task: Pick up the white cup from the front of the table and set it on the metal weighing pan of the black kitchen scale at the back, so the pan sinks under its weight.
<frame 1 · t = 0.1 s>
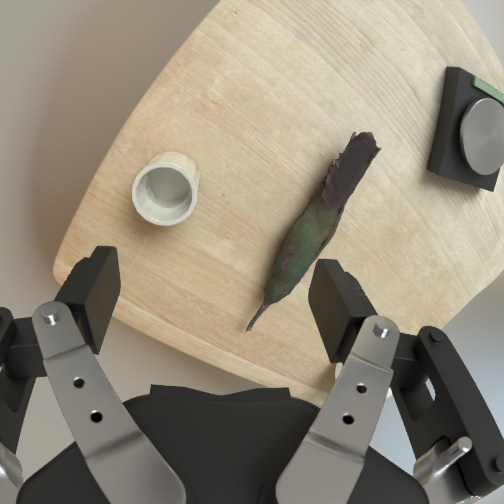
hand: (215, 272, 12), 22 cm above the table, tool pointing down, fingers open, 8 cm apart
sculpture: (299, 236, 37), on the table
white cup: (171, 178, 32), on the table
scale: (469, 130, 31), on the table
pan: (487, 136, 28), point 4 cm above the table, slide at 0.0 cm
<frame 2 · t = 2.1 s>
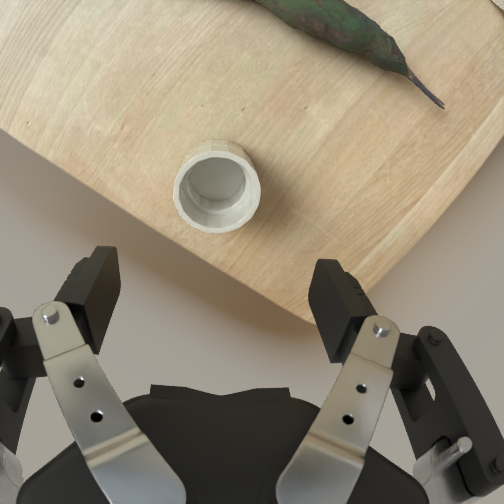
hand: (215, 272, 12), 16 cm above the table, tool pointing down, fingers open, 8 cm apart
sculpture: (310, 15, 20), on the table
white cup: (216, 173, 26), on the table
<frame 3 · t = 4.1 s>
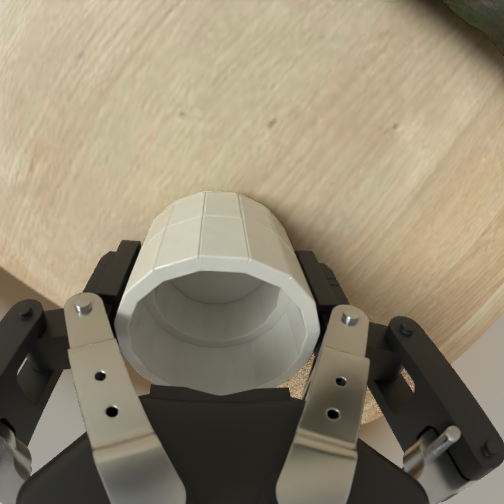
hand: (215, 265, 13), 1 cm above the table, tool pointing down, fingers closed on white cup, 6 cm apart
white cup: (216, 255, 13), on the table, touching gripper
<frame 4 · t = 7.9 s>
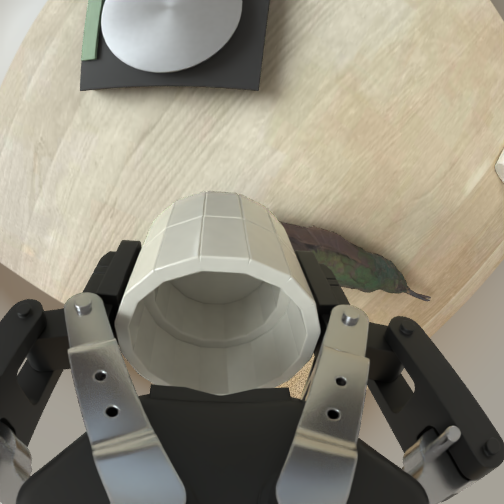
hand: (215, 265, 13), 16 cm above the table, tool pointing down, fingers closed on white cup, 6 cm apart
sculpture: (342, 253, 32), on the table
white cup: (216, 255, 13), point 15 cm above the table, touching gripper
scale: (176, 19, 19), on the table
pan: (169, 9, 16), point 4 cm above the table, slide at 0.0 cm
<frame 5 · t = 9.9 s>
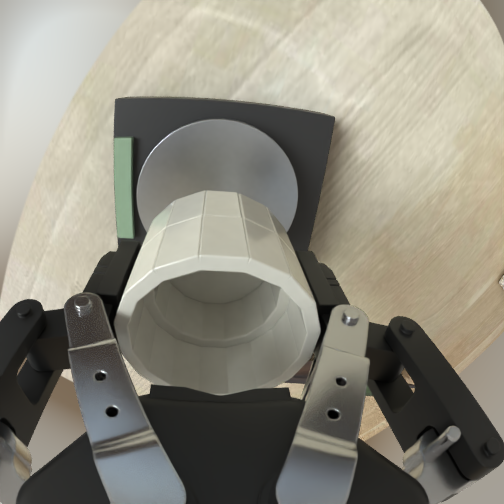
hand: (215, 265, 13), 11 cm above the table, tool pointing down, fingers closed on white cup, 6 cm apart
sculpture: (354, 364, 35), on the table
white cup: (216, 254, 13), point 10 cm above the table, touching gripper
scale: (217, 181, 22), on the table
pan: (216, 199, 19), point 4 cm above the table, slide at 0.0 cm
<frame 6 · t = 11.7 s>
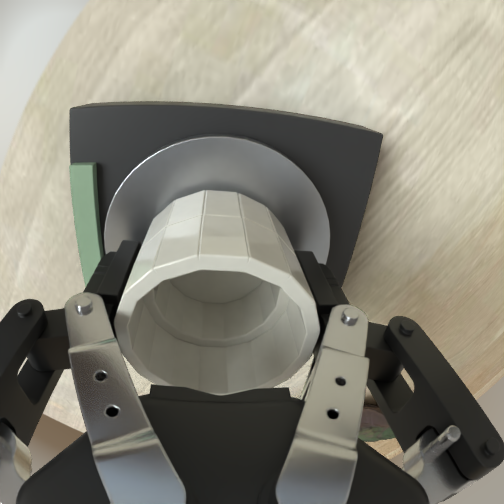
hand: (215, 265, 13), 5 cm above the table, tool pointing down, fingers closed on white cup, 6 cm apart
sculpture: (371, 406, 30), on the table
white cup: (216, 254, 13), point 4 cm above the table, touching gripper, pan
scale: (216, 217, 17), on the table
pan: (216, 249, 14), point 3 cm above the table, slide at -0.2 cm, touching white cup
when the fingers open (5 cm above the table, at t = 11.9 s): white cup stays where it is, resting on pan.
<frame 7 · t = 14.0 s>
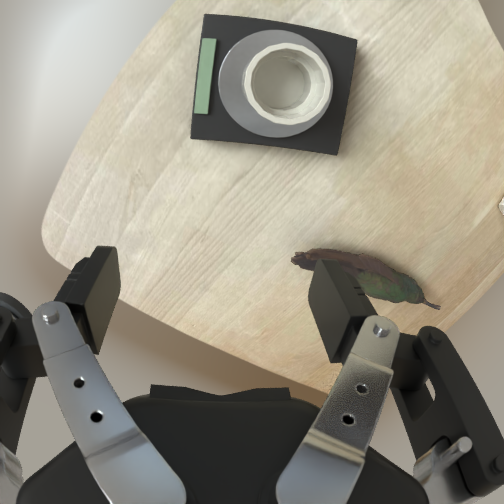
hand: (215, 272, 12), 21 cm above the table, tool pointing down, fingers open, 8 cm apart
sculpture: (378, 272, 40), on the table
white cup: (277, 82, 24), point 3 cm above the table, touching pan
scale: (271, 82, 27), on the table
pan: (276, 83, 24), point 3 cm above the table, slide at -0.6 cm, touching white cup
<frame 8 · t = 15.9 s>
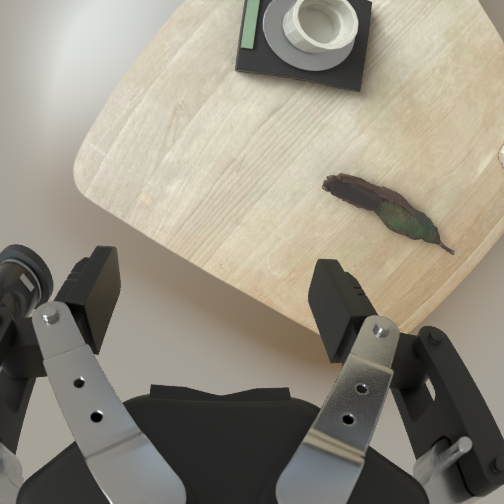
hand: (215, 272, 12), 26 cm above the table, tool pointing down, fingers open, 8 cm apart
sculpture: (397, 211, 41), on the table
white cup: (310, 27, 25), point 3 cm above the table, touching pan
scale: (302, 32, 28), on the table
pan: (310, 28, 26), point 3 cm above the table, slide at -0.6 cm, touching white cup
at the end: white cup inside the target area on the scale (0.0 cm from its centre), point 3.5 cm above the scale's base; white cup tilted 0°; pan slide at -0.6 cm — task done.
